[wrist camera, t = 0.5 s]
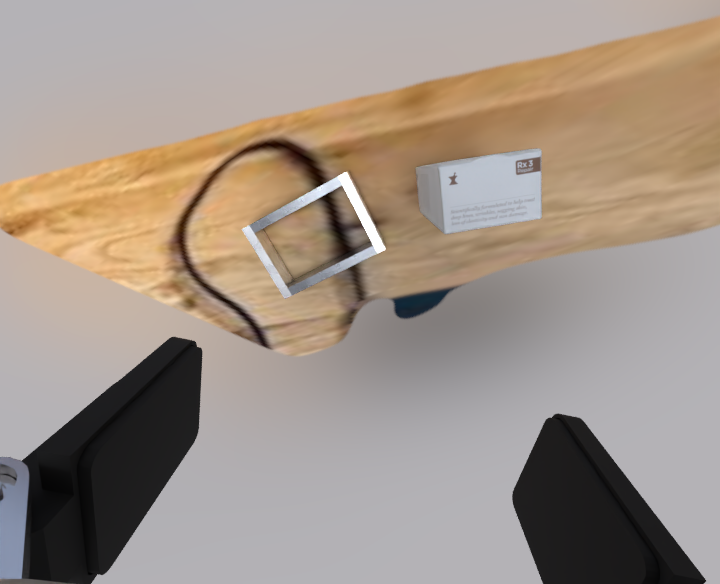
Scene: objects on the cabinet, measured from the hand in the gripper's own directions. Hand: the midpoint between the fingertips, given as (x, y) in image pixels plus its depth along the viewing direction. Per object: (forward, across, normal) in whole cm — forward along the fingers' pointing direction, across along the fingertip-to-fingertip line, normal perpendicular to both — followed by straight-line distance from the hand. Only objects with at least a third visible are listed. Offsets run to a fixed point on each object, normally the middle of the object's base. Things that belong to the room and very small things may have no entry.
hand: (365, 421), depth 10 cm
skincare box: (+27, -6, -6) cm, 28 cm away
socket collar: (+26, +6, +1) cm, 27 cm away
